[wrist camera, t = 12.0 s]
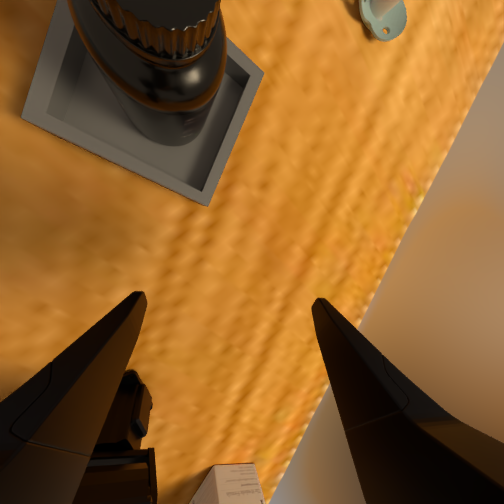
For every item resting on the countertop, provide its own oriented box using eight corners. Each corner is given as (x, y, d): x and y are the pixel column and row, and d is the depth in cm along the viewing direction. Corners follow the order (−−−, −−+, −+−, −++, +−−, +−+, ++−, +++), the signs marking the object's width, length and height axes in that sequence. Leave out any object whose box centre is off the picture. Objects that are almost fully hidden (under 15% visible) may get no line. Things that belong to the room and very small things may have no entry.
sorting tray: (204, 205, 20) (207, 206, 18) (45, 130, 14) (20, 117, 12) (253, 88, 19) (264, 73, 16) (103, -45, 13) (87, -97, 11)
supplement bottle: (100, 102, 15) (-118, -177, 4) (151, 33, 15) (78, -436, 4) (179, 166, 18) (182, 111, 7) (220, 108, 18) (287, -35, 7)
